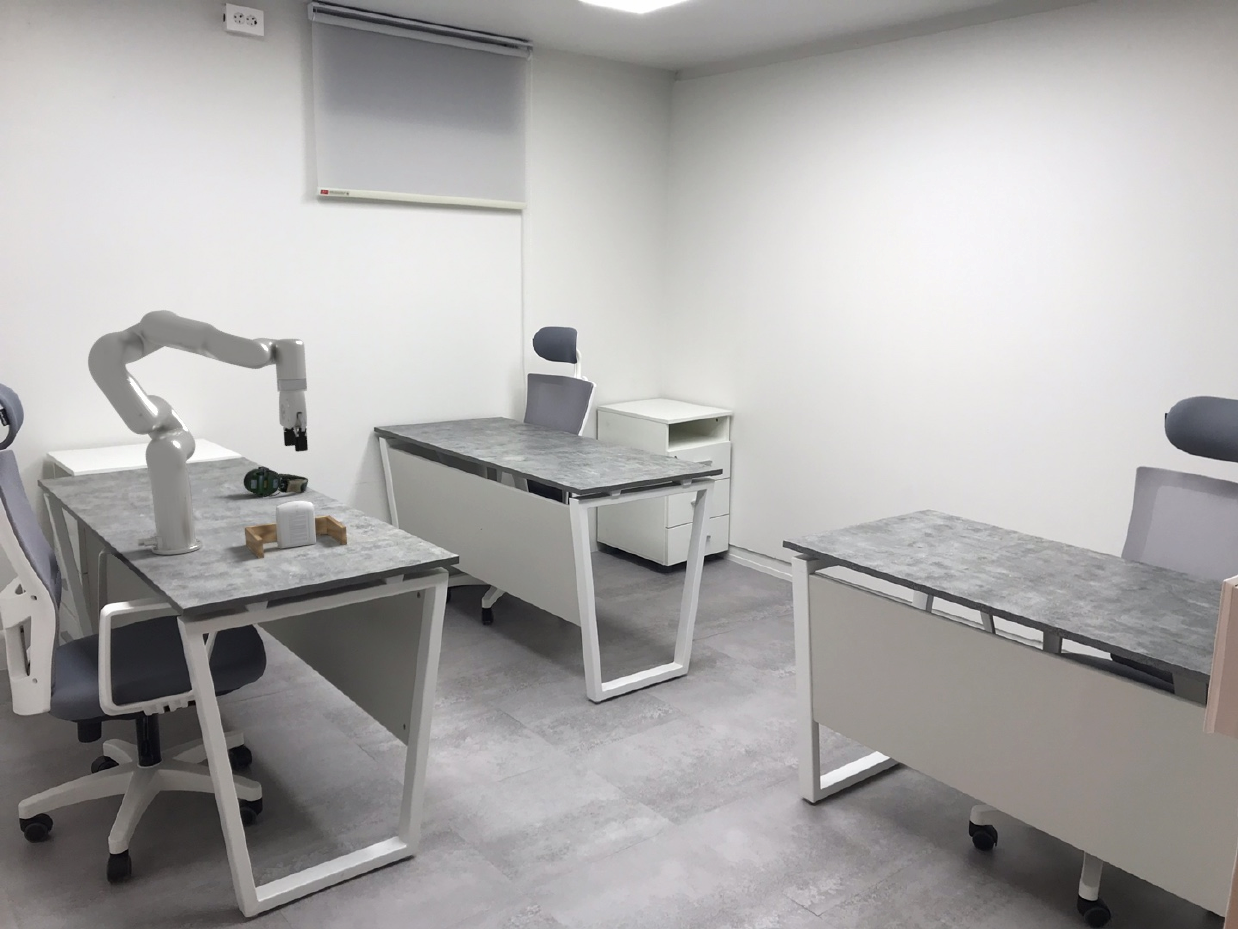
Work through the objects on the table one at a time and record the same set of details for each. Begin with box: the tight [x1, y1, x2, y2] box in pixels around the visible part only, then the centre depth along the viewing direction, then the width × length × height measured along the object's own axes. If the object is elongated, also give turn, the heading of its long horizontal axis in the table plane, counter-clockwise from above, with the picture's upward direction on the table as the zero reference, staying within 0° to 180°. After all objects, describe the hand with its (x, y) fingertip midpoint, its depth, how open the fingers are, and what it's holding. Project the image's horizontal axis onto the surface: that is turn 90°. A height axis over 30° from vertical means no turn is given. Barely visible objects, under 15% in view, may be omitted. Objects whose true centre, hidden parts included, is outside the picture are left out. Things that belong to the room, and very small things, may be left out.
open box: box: [244, 515, 348, 559], centre depth 263 cm, size 23×16×5 cm
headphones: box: [243, 466, 309, 498], centre depth 324 cm, size 13×13×20 cm
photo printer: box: [275, 500, 317, 549], centre depth 261 cm, size 10×4×12 cm, turn 123°
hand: (296, 448), depth 260 cm, fingers open, 9 cm apart
